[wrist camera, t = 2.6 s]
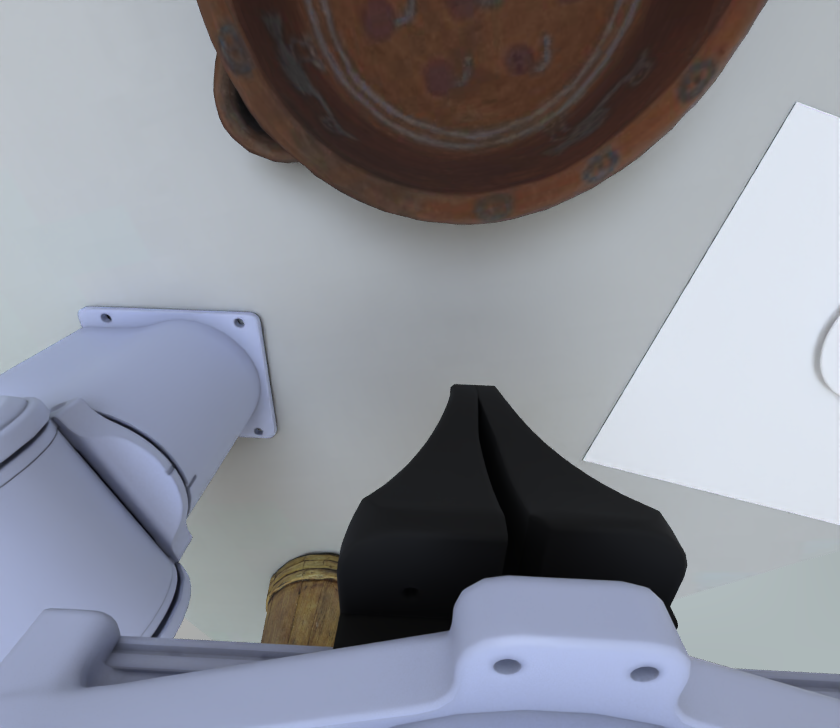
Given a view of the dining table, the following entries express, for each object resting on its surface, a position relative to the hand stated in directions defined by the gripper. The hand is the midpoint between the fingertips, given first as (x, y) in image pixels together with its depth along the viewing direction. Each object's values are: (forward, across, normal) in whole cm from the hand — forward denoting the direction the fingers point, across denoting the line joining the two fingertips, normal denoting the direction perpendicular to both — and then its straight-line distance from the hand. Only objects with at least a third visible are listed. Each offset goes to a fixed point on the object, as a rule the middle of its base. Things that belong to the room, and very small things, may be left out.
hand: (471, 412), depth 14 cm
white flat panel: (+11, -21, +3) cm, 23 cm away
